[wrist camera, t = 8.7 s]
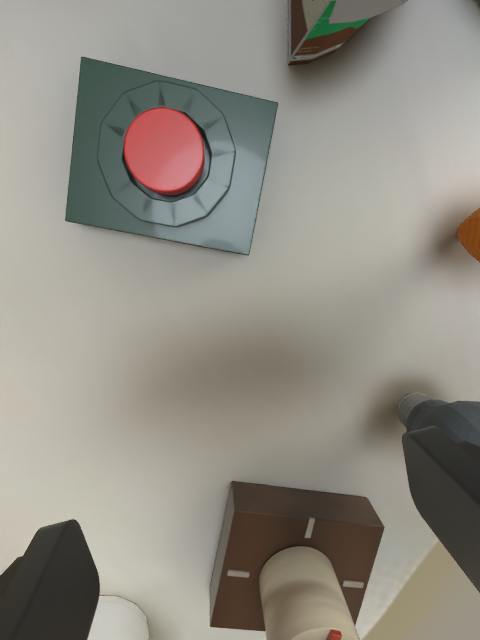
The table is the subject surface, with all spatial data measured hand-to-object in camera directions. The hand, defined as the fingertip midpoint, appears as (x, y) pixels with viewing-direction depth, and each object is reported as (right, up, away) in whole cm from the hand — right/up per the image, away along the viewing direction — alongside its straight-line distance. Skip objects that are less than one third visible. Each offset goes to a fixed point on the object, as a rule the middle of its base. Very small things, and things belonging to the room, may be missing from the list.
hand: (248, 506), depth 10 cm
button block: (-4, +13, +14) cm, 19 cm away
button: (-4, +12, +10) cm, 16 cm away
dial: (+3, -12, +17) cm, 21 cm away
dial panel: (+3, -12, +20) cm, 23 cm away
